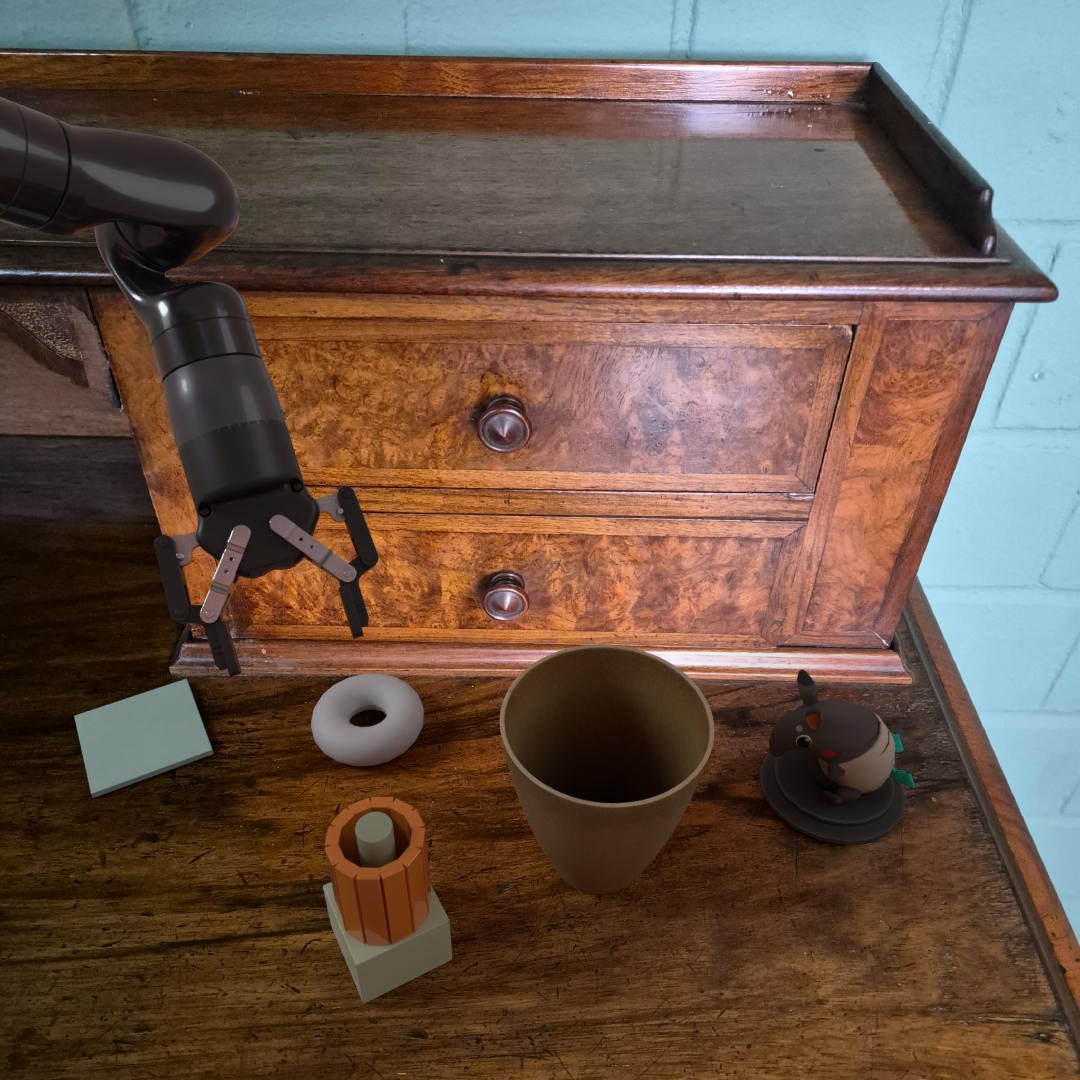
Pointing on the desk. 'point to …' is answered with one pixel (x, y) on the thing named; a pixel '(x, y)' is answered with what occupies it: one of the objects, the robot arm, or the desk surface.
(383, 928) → the pen holder
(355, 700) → the donut
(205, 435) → the robot arm
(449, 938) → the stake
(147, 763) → the mat
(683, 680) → the plant pot
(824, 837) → the figurine
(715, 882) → the desk surface
